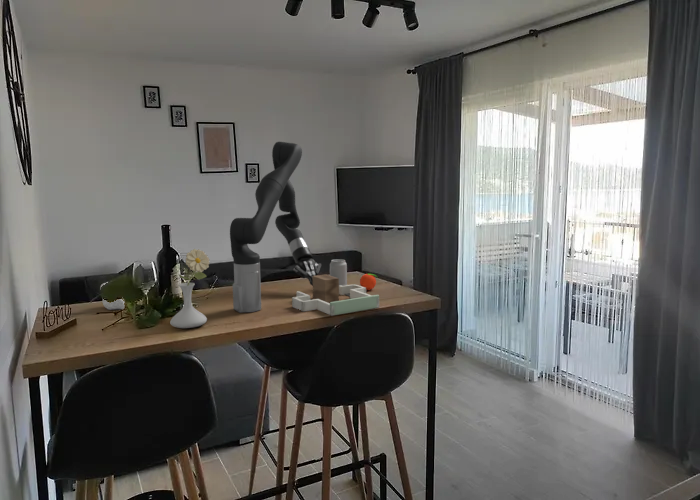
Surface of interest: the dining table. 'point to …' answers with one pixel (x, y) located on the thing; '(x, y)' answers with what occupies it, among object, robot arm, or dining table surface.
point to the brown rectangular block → (326, 288)
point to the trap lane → (338, 307)
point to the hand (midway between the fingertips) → (315, 284)
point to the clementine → (368, 281)
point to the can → (339, 271)
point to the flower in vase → (188, 313)
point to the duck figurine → (113, 303)
